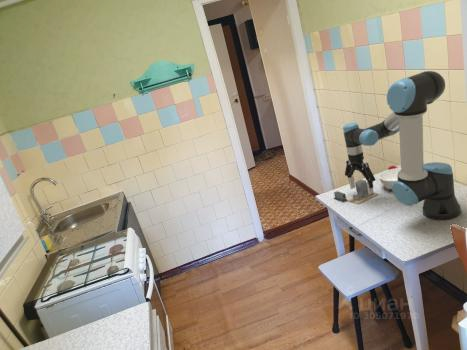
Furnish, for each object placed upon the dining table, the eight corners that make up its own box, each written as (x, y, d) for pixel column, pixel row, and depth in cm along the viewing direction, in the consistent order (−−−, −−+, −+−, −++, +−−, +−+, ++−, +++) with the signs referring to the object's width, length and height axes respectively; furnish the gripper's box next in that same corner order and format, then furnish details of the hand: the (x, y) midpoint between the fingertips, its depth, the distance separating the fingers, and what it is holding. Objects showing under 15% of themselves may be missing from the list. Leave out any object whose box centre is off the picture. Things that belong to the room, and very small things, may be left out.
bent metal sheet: (373, 194, 200) (370, 178, 197) (358, 201, 196) (355, 185, 194) (367, 192, 203) (364, 177, 201) (353, 199, 200) (350, 184, 197)
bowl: (376, 185, 211) (374, 173, 209) (409, 177, 209) (407, 165, 207) (387, 196, 194) (385, 183, 192) (423, 188, 192) (422, 175, 190)
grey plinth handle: (370, 189, 207) (369, 183, 206) (343, 202, 201) (342, 195, 200) (360, 186, 214) (359, 180, 213) (334, 199, 208) (332, 192, 207)
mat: (378, 194, 199) (378, 193, 198) (358, 204, 194) (358, 203, 194) (367, 191, 206) (367, 190, 206) (347, 201, 201) (347, 200, 201)
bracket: (404, 177, 211) (402, 164, 209) (399, 180, 209) (397, 167, 207) (386, 174, 221) (384, 162, 219) (381, 177, 219) (379, 164, 217)
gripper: (378, 153, 183) (385, 192, 189) (344, 148, 205) (351, 183, 211) (367, 158, 180) (373, 198, 186) (333, 152, 203) (340, 188, 209)
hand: (361, 190), depth 199 cm, fingers open, 13 cm apart
